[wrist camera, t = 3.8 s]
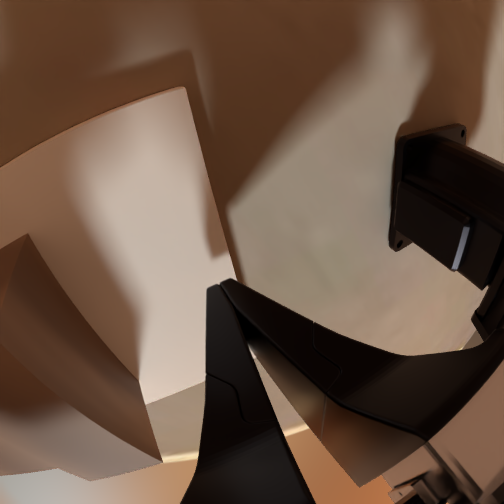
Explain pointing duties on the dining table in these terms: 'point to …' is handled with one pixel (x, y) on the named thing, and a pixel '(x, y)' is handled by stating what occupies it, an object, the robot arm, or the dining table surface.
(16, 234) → the board
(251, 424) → the robot arm
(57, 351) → the walnut T block
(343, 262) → the dining table surface
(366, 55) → the dining table surface
